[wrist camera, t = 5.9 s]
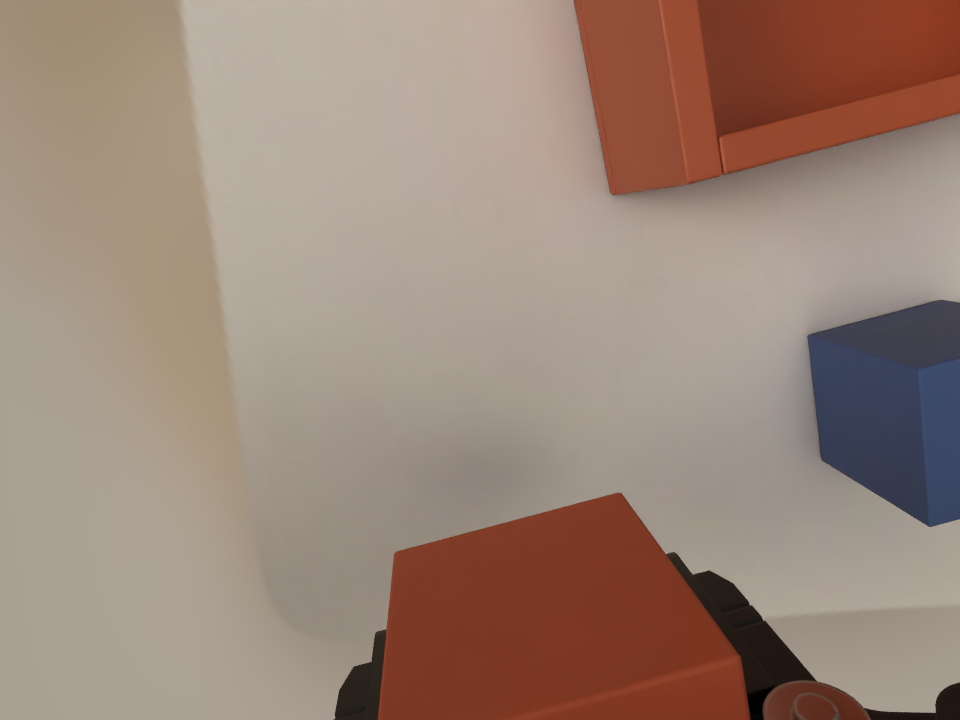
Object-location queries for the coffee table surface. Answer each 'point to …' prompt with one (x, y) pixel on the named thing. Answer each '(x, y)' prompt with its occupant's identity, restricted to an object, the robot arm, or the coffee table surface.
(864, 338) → the blue block
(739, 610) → the robot arm
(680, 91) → the red bin
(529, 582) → the red block
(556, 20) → the coffee table surface
